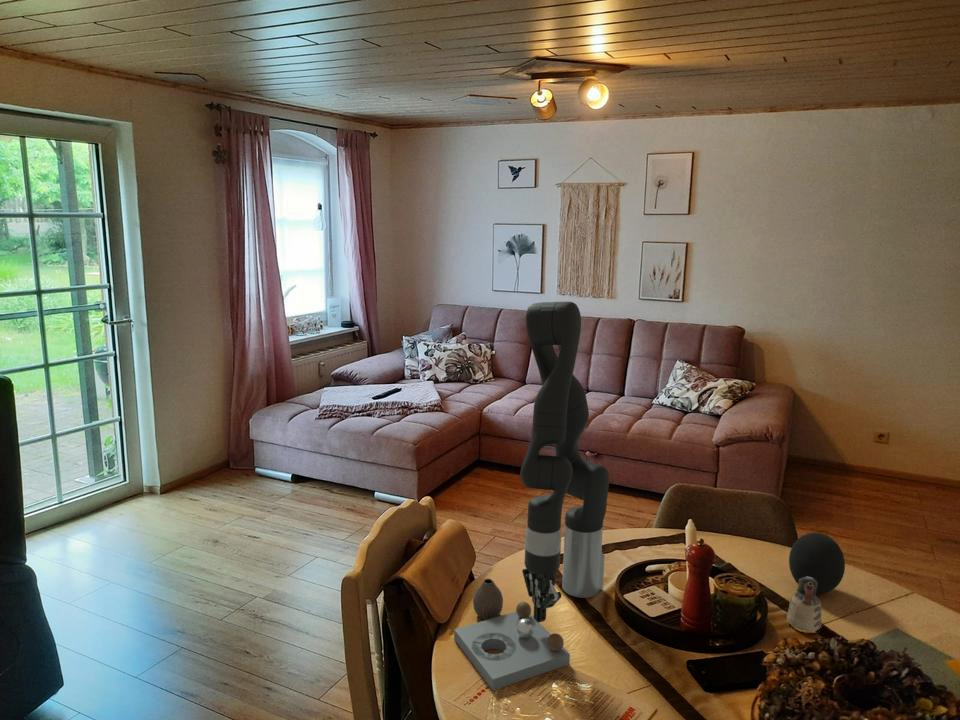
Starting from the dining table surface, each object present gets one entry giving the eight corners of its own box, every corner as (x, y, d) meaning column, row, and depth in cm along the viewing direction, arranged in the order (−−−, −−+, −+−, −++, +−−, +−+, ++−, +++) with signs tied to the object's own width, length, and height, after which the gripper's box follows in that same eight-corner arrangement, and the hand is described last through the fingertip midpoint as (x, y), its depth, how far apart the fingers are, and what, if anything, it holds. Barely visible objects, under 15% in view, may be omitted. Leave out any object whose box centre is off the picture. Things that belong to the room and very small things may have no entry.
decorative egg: (794, 601, 163) (801, 544, 160) (780, 575, 175) (786, 521, 172) (848, 606, 162) (856, 549, 158) (830, 579, 173) (838, 525, 170)
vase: (499, 626, 152) (500, 591, 151) (470, 622, 154) (470, 587, 152) (504, 609, 159) (505, 575, 157) (476, 605, 160) (476, 571, 158)
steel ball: (528, 629, 147) (528, 612, 146) (537, 639, 144) (538, 622, 143) (512, 634, 145) (512, 617, 145) (521, 644, 142) (521, 627, 141)
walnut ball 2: (557, 642, 143) (558, 628, 142) (566, 651, 140) (567, 637, 139) (543, 647, 141) (544, 632, 140) (552, 656, 138) (553, 641, 137)
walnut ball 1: (526, 610, 154) (526, 597, 153) (533, 618, 151) (534, 605, 150) (513, 614, 152) (513, 601, 152) (520, 622, 149) (521, 608, 149)
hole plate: (525, 618, 155) (525, 608, 155) (569, 664, 140) (569, 653, 139) (454, 639, 147) (454, 629, 147) (492, 690, 132) (492, 679, 131)
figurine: (821, 621, 155) (827, 574, 153) (820, 638, 149) (826, 589, 147) (787, 613, 159) (793, 566, 156) (785, 628, 153) (791, 580, 150)
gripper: (575, 556, 138) (570, 632, 142) (542, 530, 150) (539, 600, 153) (543, 563, 135) (540, 641, 138) (512, 536, 147) (509, 608, 150)
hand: (539, 619), depth 146 cm, fingers closed
